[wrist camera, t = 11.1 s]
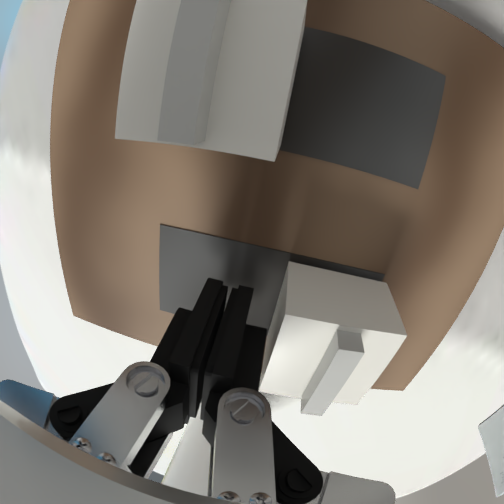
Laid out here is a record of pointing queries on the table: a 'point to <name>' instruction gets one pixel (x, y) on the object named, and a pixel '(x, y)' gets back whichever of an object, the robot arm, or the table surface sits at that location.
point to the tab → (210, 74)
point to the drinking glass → (190, 460)
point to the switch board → (290, 176)
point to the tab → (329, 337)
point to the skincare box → (495, 447)
